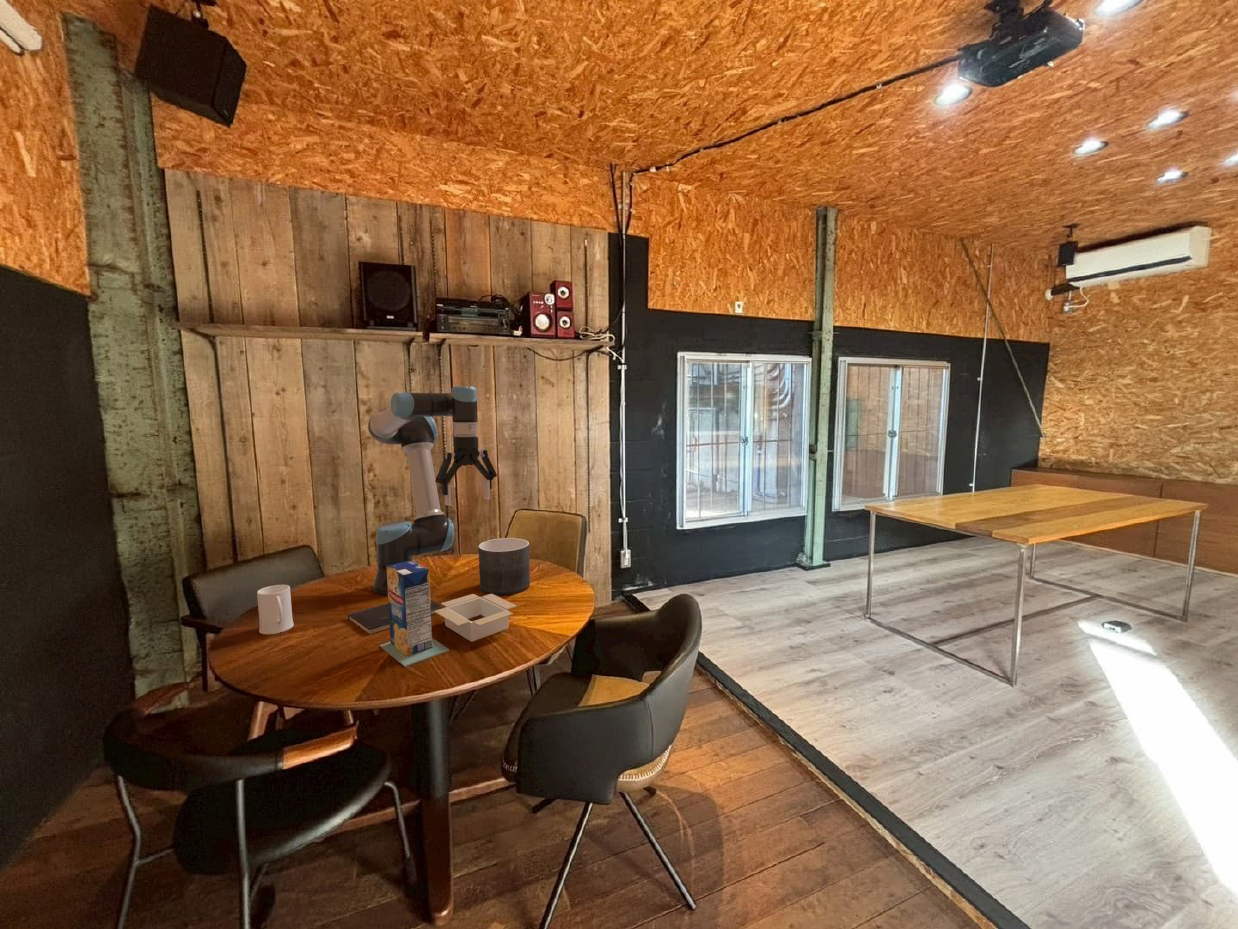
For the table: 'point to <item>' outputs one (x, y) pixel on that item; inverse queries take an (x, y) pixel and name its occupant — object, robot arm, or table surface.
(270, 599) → the mug
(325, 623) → the table surface
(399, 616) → the beverage box
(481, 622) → the carton
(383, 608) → the hardcover book
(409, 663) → the mat
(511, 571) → the planter
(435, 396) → the robot arm
